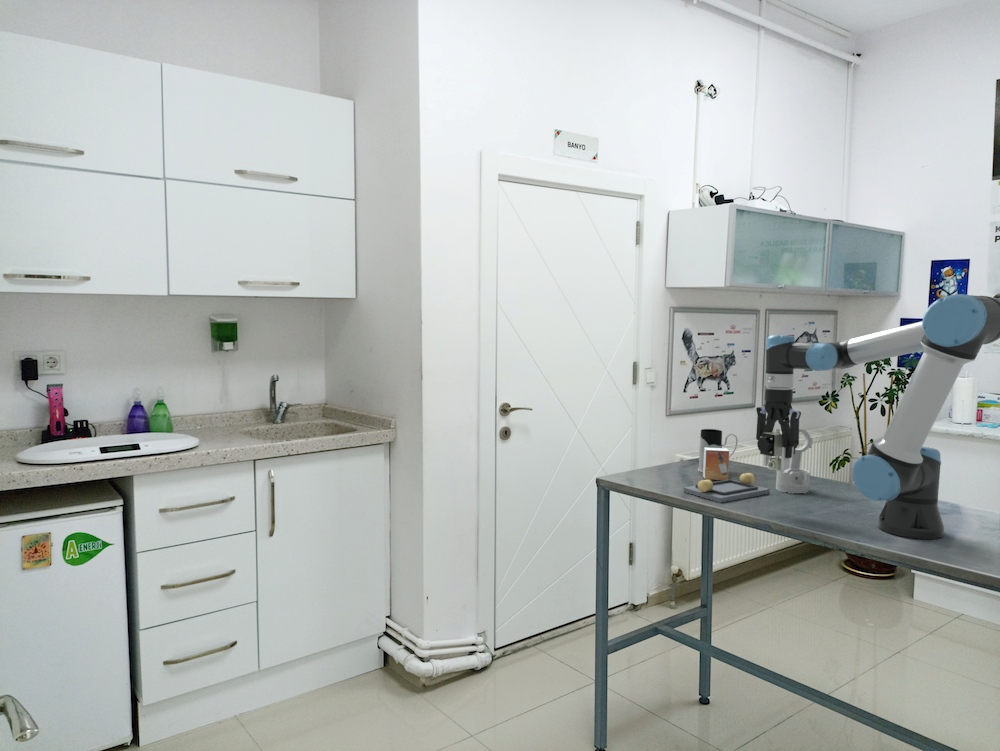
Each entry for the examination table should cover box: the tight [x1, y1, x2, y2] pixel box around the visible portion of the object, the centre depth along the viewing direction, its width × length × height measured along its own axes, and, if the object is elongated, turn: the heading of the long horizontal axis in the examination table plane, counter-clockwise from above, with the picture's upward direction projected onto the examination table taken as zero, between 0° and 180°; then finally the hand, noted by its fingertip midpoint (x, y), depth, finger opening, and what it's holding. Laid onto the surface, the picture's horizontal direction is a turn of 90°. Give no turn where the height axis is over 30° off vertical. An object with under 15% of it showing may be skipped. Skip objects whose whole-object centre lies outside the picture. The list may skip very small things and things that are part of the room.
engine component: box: [775, 427, 813, 494], centre depth 229 cm, size 11×20×10 cm
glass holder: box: [697, 428, 738, 473], centre depth 256 cm, size 9×14×15 cm, turn 93°
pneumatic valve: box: [756, 428, 799, 472], centre depth 204 cm, size 6×12×12 cm, turn 115°
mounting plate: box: [683, 472, 771, 504], centre depth 224 cm, size 23×15×5 cm, turn 121°
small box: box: [702, 447, 730, 481], centre depth 245 cm, size 8×6×10 cm
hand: (776, 466), depth 205 cm, fingers closed on pneumatic valve, 5 cm apart
